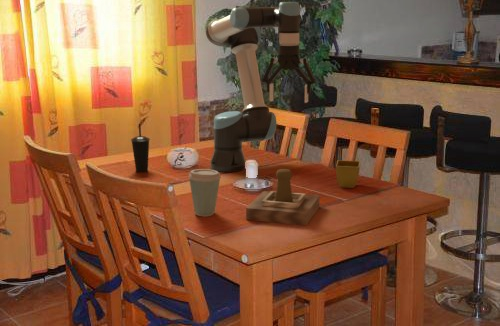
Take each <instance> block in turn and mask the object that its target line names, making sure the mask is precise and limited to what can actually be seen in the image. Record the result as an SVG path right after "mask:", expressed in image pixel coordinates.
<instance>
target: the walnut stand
mask: <svg viewBox="0 0 500 326" xmlns="http://www.w3.org/2000/svg"><path fill="white" fill-rule="evenodd" d="M275 197H276V190H271V191H267V190H264V191H262V192H261V193H260V194H259V195H258V196H257V197H256V198H254V200H253V201H252V202H251V203H250V204H249V205H248V206H247V207H246V208H245V210H246V211H245V217H246V218H245V220H247V221H255V222H257V221H258V222H265V223H266V222H267V223H275V224H276V223H277V224H279V223H280V224H286V225H296V226H297V225H298V226H307V225H308V223H310V221H311V220H312V218H313V217H314V215H315V214H316V212H317V211H318V209H319V208H320V201H321V200H320V198H321V197H320V195H316V194H306V193H301V192H292V199H293V202H292V203H289V202H278V201H275Z"/></svg>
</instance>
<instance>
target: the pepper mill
mask: <svg viewBox="0 0 500 326" xmlns="http://www.w3.org/2000/svg"><path fill="white" fill-rule="evenodd" d="M275 175H276V179H277V182H276V183H277V184H276V190H275V191H276V197H275V201H278V202H289V203H292V202H293V199H292V193H293V192H292V185H291V179H292V177H293V175H292V171H291V170H290V169H287V168H280V169H277V171H276V172H275Z"/></svg>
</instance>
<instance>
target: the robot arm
mask: <svg viewBox="0 0 500 326" xmlns="http://www.w3.org/2000/svg"><path fill="white" fill-rule="evenodd" d="M300 15H301V11H300V3H299V2H297V1H281V2H279V5H278V6H262V7H261V6H260V7H259V6H258V7H241V6H240V7H234V8H232V9H231V12H230V14H229V15H227V16H225V17H223V18H215V19H213V20H210V22H208V24H207V26H206V27H205V36H206V38H207V39H208V41H209V42H210V43H211V44H213V45H215V46H217V47H223V48H224V47H229V48H230V49H231V50H230V51H231V53H232V54H234V55H235V59H236V64H237V70H238V76H239V83H240V88H241V95H242V99H243V106H244V107H243V109H242V111H238V110H234V111H233V110H232V111H231V110H230V111H225V112H221V113H218V114H217V115H215V117H214V119H213V127H212V128H213V143H214V144H213V146H214V149H213V153H212V157H211V161H210V170H215V171H218V172H219V173H220V172H224V173H230V172H231V173H233V172H235V173H236V172H241V171H244V170H245V169H246V168H245V162H246V163H247V160H246V158H245V154H244V151H243V143H251V142H257V141H259V142H260V141H261V142H263V141H266V140H267V141H268V140H272V138H273V137H274V135H275V133H276V131H277V116H276V114H275V113H274V112H272V111H270V108H269V106H268V105H267V104H265V99H264V93H263V87H262V83H261V81H262V82H263V83H265V84H266V90H267V92H266V93H269V102H273V101H274V82H273V81H274V80H275V79H276V77H277V76H278V75H279V74H280V73H281V71H283V70H284V71H287V70H289V71H294V70H295V72H297V74H298V75H299V76H300V77H301V79H302V80H303V81H304V83H305V85H304V104H307V103H308V102H309V95H310V94H311V93H312V85H313V84H315V83H316V82H317V80H316V78H315V75H314V74H313V72H312V68H311V67H310V65H309V59H308V57H303V58H301V57H300V45H299V44H300V18H301V16H300ZM261 28H262V29H263V28H264V29H265V28H278V44H279V46H278V58H276V57H275V56H273V57H270V60H269V61H270V62H269V65H268V67H267V69H266V72H265V73H264V75H263V78H262V79H261V77H260V72H259V65H258V59H257V56H256V55H257V54H256V51H257V50H258V47H259V46H258V45H260V43H261V39H262V37H261V36H262V32H261ZM277 63H278V64H279V66H278V67H277V69H275V71H273V73H272V70H273V68H274V66H275V65H276V64H277ZM300 63H301V64H302V65H303V67H304V69H305V71H306V73H307V75H306V73H305V72H304V71H303V70H302V69H301V68H302V67H300V65H299V64H300ZM271 73H272V75H271ZM270 75H271V76H270ZM269 76H270V77H269ZM272 82H273V83H272Z"/></svg>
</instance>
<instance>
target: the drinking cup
mask: <svg viewBox="0 0 500 326" xmlns="http://www.w3.org/2000/svg"><path fill="white" fill-rule="evenodd" d="M141 129H142V128H141V123H138V134H139V135H138V136H137V135H136V136H134V137H133V138H131V139H130V142H131V145H132V152H133V159H134V167H135V172H136V173H140V172H142V173H147V172H148V169H149V151H150V140H151V139H150V138H149V137H147V136H144V135H142V131H141Z"/></svg>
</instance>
